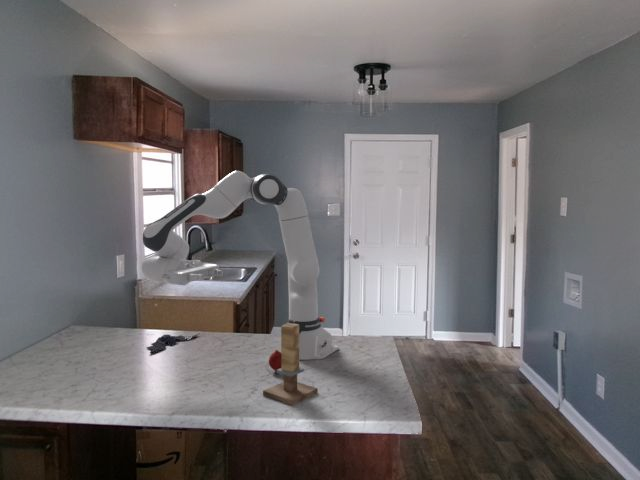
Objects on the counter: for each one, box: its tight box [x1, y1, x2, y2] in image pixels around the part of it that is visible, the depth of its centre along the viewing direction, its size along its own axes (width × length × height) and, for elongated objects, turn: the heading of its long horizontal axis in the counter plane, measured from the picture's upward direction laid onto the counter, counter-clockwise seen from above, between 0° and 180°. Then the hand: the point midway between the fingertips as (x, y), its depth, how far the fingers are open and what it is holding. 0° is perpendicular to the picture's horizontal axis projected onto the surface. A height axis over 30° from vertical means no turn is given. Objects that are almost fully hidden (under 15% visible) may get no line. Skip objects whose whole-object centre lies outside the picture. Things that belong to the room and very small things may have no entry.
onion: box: [268, 348, 282, 373], centre depth 184 cm, size 6×6×8 cm
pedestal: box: [262, 366, 319, 406], centre depth 165 cm, size 12×12×8 cm
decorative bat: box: [146, 332, 201, 353], centre depth 217 cm, size 30×4×10 cm
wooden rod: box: [280, 322, 300, 372], centre depth 163 cm, size 4×4×14 cm
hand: (212, 275), depth 175 cm, fingers open, 8 cm apart
